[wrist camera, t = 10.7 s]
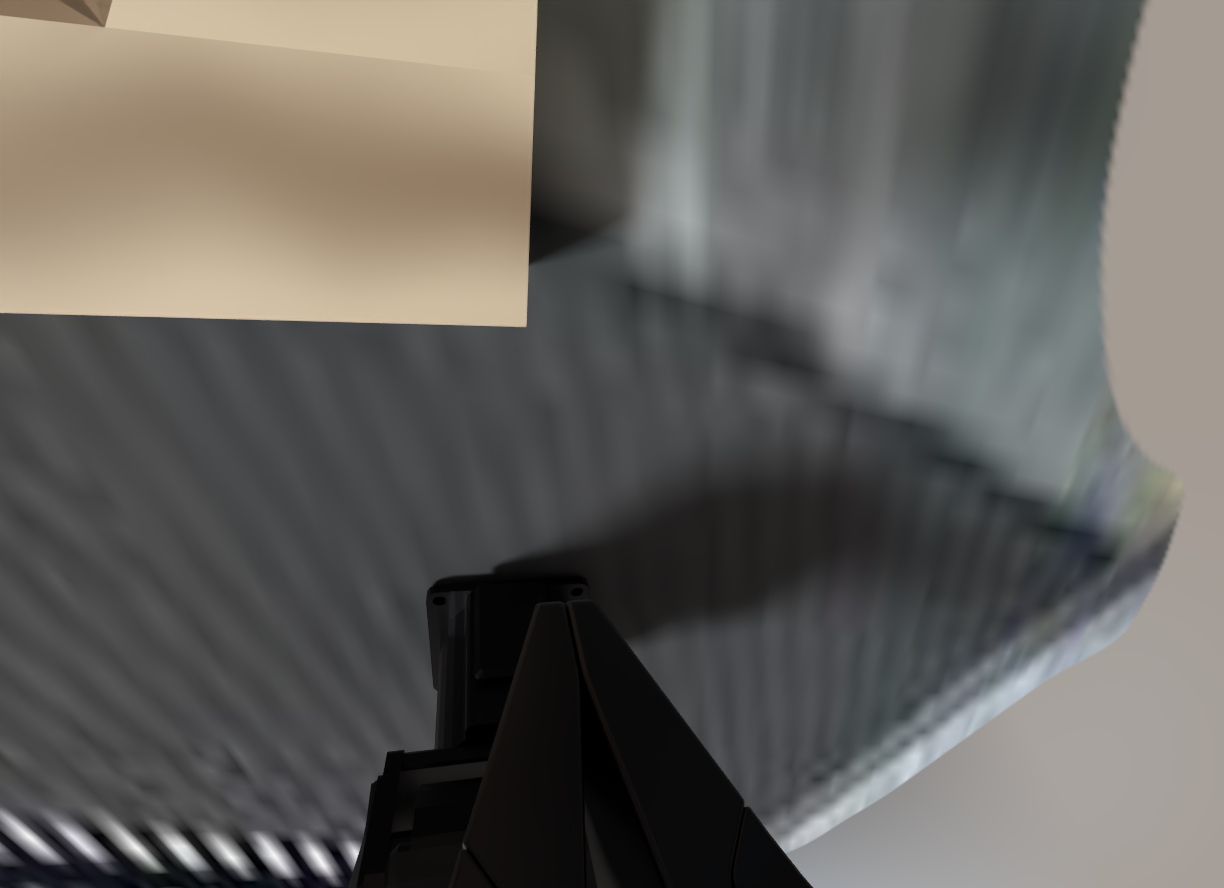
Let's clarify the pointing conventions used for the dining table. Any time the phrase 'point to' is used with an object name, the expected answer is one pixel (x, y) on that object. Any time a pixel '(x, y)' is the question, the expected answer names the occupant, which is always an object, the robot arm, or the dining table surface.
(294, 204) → the jig
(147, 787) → the dining table surface
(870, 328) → the dining table surface
